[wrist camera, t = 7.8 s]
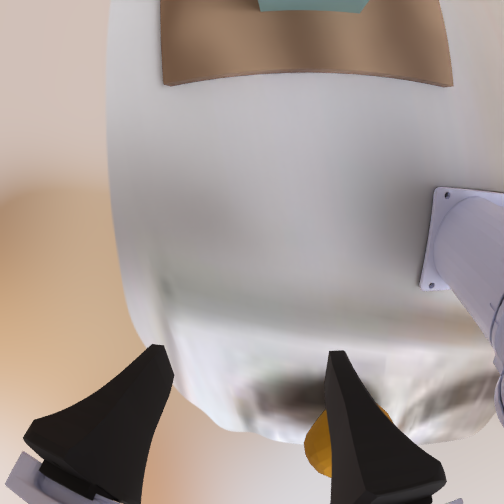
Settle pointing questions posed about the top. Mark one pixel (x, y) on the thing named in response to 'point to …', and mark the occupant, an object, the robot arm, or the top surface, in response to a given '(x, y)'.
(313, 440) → the apple
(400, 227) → the top surface
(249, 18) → the walnut board
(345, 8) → the mint green cube
